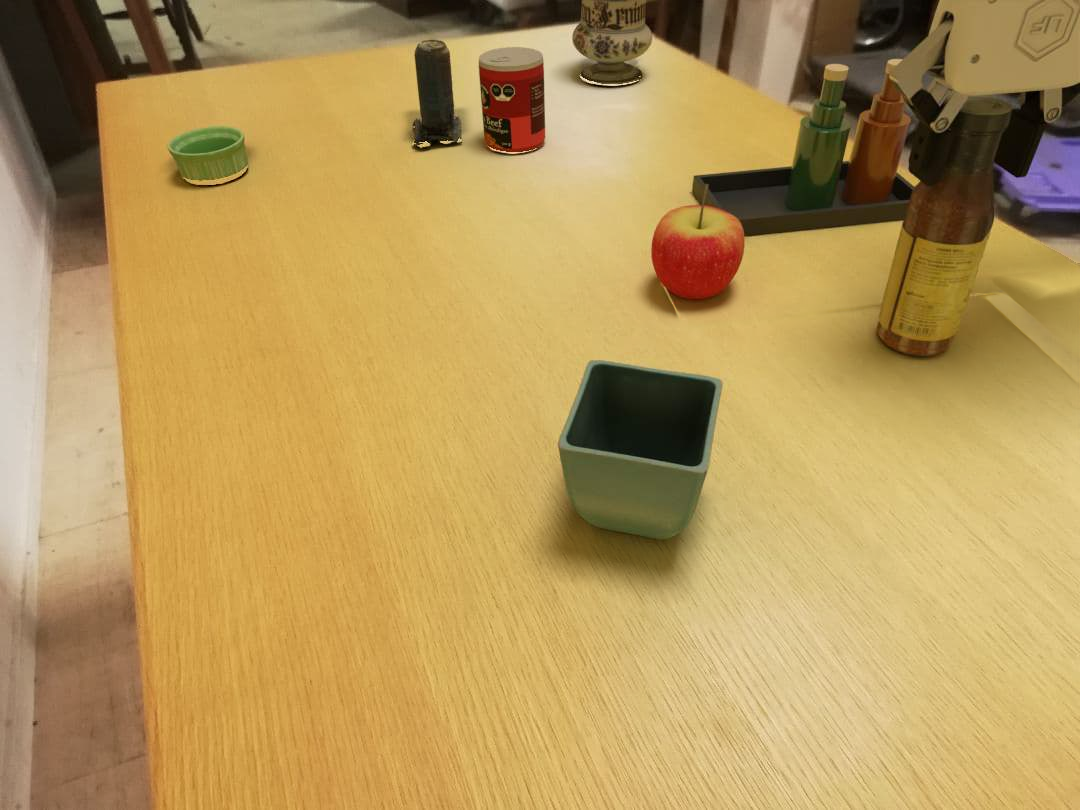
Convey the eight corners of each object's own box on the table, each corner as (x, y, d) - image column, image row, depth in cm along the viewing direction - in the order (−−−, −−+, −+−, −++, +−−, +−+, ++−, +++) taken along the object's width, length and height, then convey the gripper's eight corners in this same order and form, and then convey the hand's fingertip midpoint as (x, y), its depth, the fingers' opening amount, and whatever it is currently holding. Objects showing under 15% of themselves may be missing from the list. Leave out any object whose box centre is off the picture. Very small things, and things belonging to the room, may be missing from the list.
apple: (743, 274, 76) (759, 177, 70) (728, 322, 70) (744, 220, 64) (660, 262, 78) (667, 166, 72) (639, 306, 72) (645, 207, 66)
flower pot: (692, 572, 49) (708, 472, 44) (557, 545, 51) (555, 445, 46) (708, 475, 56) (724, 376, 50) (587, 454, 58) (589, 357, 52)
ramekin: (241, 153, 103) (232, 120, 100) (262, 176, 97) (253, 142, 94) (171, 170, 99) (159, 136, 97) (188, 196, 94) (176, 160, 91)
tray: (874, 177, 92) (879, 157, 90) (924, 221, 83) (931, 200, 82) (691, 195, 90) (693, 175, 88) (723, 242, 81) (726, 220, 80)
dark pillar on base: (472, 144, 103) (463, 48, 95) (414, 152, 101) (400, 55, 94) (458, 120, 110) (449, 28, 102) (403, 128, 108) (390, 35, 100)
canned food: (476, 139, 104) (469, 52, 97) (531, 128, 107) (528, 43, 99) (497, 160, 99) (491, 69, 92) (555, 148, 101) (553, 59, 94)
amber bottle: (875, 186, 89) (910, 52, 80) (896, 206, 85) (936, 67, 76) (833, 190, 89) (863, 56, 79) (853, 210, 85) (887, 71, 75)
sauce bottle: (967, 349, 66) (1061, 113, 53) (907, 368, 64) (990, 129, 52) (912, 310, 71) (986, 84, 58) (855, 326, 69) (918, 98, 56)
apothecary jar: (644, 92, 116) (652, -46, 105) (565, 88, 119) (564, -47, 107) (654, 66, 125) (662, -63, 113) (580, 63, 127) (581, -64, 116)
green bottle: (820, 192, 88) (849, 57, 79) (840, 212, 85) (873, 73, 75) (778, 196, 88) (802, 61, 79) (796, 216, 84) (823, 77, 75)
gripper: (962, -97, 43) (879, 208, 54) (1247, -115, 44) (1107, 185, 56) (894, -116, 48) (832, 164, 60) (1149, -131, 50) (1041, 144, 62)
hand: (966, 172), depth 58 cm, fingers open, 6 cm apart
